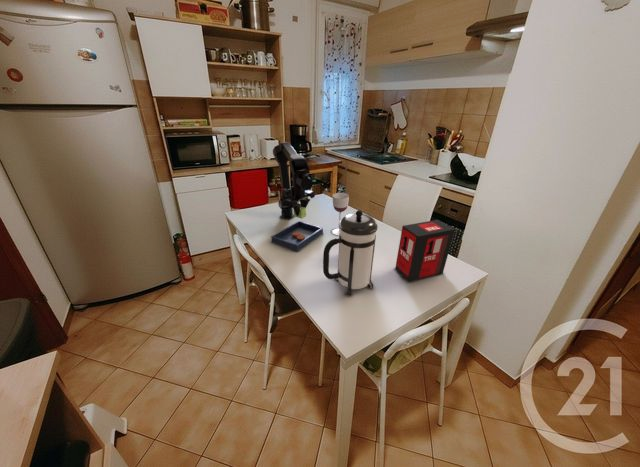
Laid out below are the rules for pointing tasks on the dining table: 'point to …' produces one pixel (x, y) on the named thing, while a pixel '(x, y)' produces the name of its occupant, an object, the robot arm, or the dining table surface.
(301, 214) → the sponge
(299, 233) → the orange flat cylinder
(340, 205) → the wineglass
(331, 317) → the dining table surface
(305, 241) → the tray
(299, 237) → the orange round disc
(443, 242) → the cleaning product box
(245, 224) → the dining table surface
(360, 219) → the coffee press
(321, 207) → the dining table surface
